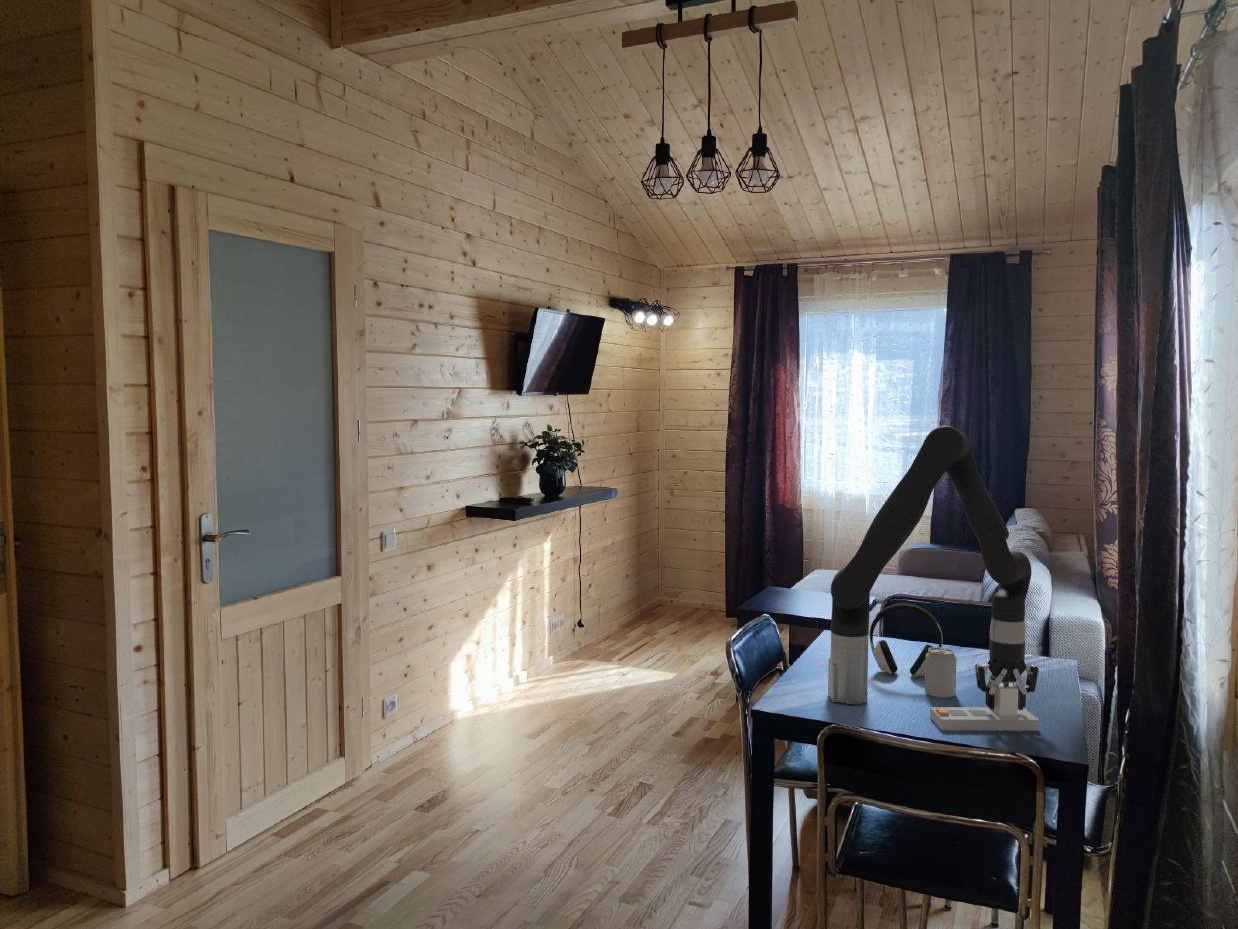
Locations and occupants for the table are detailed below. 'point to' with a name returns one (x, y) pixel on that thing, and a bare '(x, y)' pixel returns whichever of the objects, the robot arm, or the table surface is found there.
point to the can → (940, 672)
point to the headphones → (882, 648)
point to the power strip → (981, 719)
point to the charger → (1006, 700)
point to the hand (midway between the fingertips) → (1005, 708)
